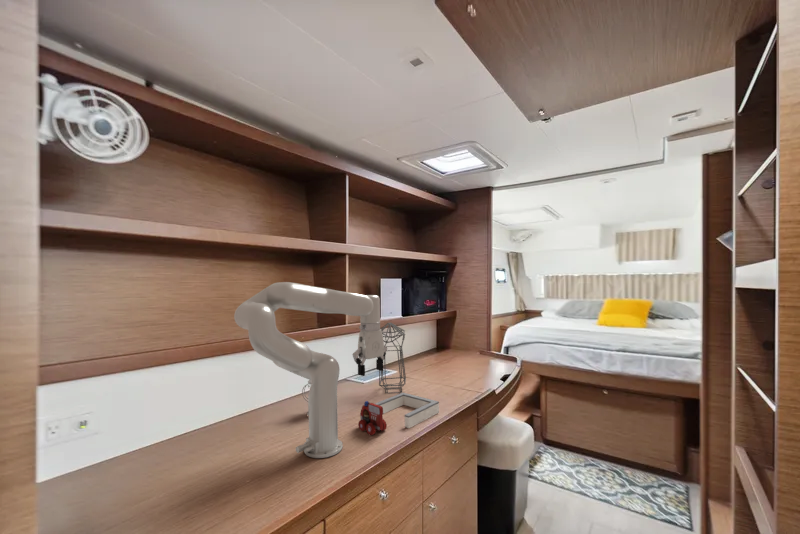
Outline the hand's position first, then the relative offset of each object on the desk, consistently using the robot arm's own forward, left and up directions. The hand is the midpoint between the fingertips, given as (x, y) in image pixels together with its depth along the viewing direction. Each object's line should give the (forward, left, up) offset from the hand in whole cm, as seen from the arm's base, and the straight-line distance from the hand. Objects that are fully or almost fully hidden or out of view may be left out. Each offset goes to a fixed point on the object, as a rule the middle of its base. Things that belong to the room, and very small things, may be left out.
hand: (370, 372), depth 132 cm
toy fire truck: (0, 0, -22) cm, 22 cm away
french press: (-3, +32, -22) cm, 39 cm away
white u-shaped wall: (+19, 0, -22) cm, 29 cm away
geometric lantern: (+39, +26, -22) cm, 52 cm away
